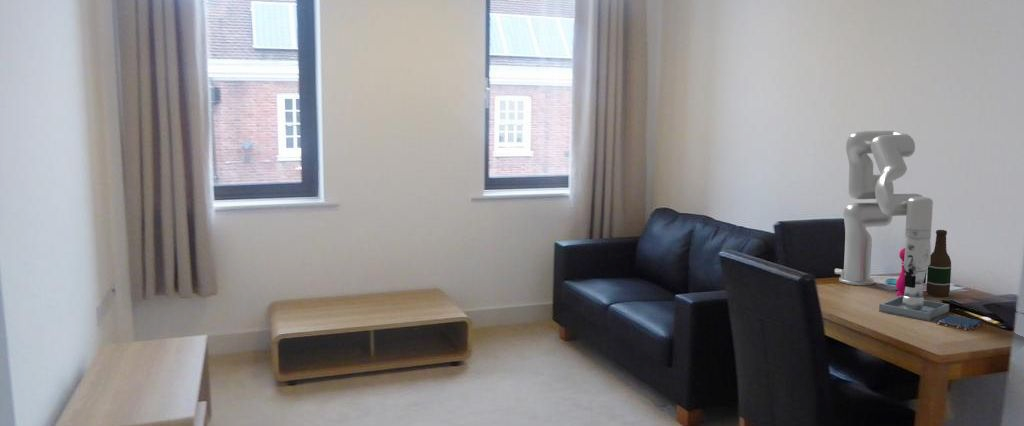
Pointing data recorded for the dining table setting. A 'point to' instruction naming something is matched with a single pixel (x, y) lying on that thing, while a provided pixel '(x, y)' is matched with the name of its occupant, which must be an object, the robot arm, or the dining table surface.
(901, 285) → the pepper mill
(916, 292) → the plastic bottle
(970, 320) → the woven mat
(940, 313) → the tray
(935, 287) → the beer bottle
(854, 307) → the dining table surface
